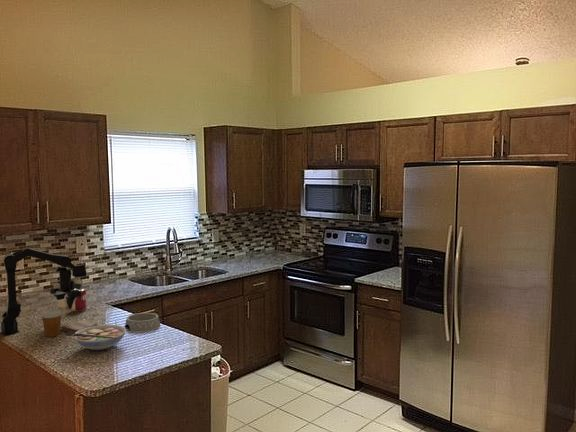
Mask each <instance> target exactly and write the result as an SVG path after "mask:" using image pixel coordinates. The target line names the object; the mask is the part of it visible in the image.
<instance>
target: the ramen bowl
mask: <svg viewBox="0 0 576 432" xmlns="http://www.w3.org/2000/svg"><path fill="white" fill-rule="evenodd" d="M126 332H127V331H126V327H125V326H122V325H117V324H99V325H98V324H97V326H92V327H87V328H84V329H81V330H79V331H77V332H76V333H71V332H67V333H64V336H68V337H73V338H74V340H75V341H76V342H77V344H79V345H80V346H81V347H83V348H85V349H89V350H93V351H105V350H107V349H109V348H111V347H113V346H116V344H118V343H119V342H121V340H122V339H123V338H124V335H126V334H125V333H126ZM104 349H105V350H104Z"/></svg>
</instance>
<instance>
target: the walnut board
mask: <svg viewBox="0 0 576 432" xmlns="http://www.w3.org/2000/svg"><path fill="white" fill-rule="evenodd" d="M92 326H98V323H95V322H90V321H87V320H82V319H81V320H78V321H75V322H72V323H69V324H64V325H62V326H61V331H64V332H67V333H68V332H69V333H76V332H77V331H79V330H81V329H84V328H87V327H92Z"/></svg>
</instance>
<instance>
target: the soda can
mask: <svg viewBox="0 0 576 432" xmlns="http://www.w3.org/2000/svg"><path fill="white" fill-rule="evenodd" d="M74 290H78V289H74ZM80 291H81V292H82V295H81V296H78V297H76V298H75V310H74V312H83V311H86V310H87V309H88V305H87V301H88V300H87V290H86V288H81V289H80Z"/></svg>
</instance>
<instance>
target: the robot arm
mask: <svg viewBox="0 0 576 432" xmlns="http://www.w3.org/2000/svg"><path fill="white" fill-rule="evenodd" d="M28 257H29V258H30V257H31V258H34V259H39V260H43V261H47V262H50V263H52V264H53V263H54V264H56V265H58V266H57V267H56V268H55V269H54V271H55V272H56V273H58V275H59V276H58V279H59V280H57V284H59V286H55V287H51V288H50V290H49V293H50V294H52V295H53V296H54V297H55V299H56V300H57V301H58V300H60V299H64V298H66V301H67V304H68V307H69V309H71V308H72V305H73V302H74V299H75V298H76V297H78V296H81V295H82V292H81V291H80V289H82V285H83V284H82V283H76V282H75V281H74V280H72V277H74V279H77V278H86V277H87V272H88V271H87V268H86V264H84V263H83V264H76V265H75V264H74V263H72V259H71V257H69V255H66V254H59V253H58V254H53V253H49V252H47V251H46V252H44V251H42V250H41V251H40V250H37V249H34V248H33V249H32V248H30V247H24V248H22V249H20V250H17V251H15V252H13V253H7V254H5V255H4V256H3V257H2V262H3V266H4V269H5V272H6V287H7V289H6V290H7V291H6V292H7V301H6V302H7V303H6V306H5V307H6V309H5V312H3V313H2V315H1V319H2V321H0V328H1V329H0V335H4V336H10V335H12V334H17V333H19V332H20V330H19V323H18V319H17V318H18V317H20V315H21V313H22V309H21V308H22V307H21V306H22V303H21V301H18V299H17V285H16V282H17V281H16V270H17V265H18V264H17V263H18V262H20V261H22V260H24V259H25V258H28ZM75 289H78V290H75Z"/></svg>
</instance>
